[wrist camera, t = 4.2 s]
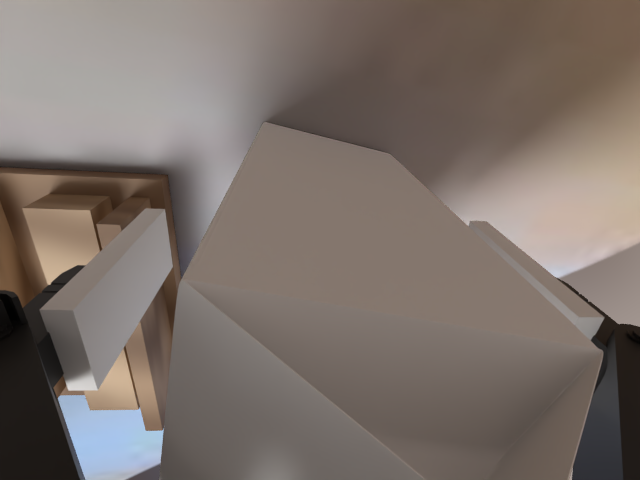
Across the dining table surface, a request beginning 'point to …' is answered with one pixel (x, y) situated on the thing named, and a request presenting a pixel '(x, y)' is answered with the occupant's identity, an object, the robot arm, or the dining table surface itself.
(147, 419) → the display stand
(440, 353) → the milk carton
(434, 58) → the dining table surface
